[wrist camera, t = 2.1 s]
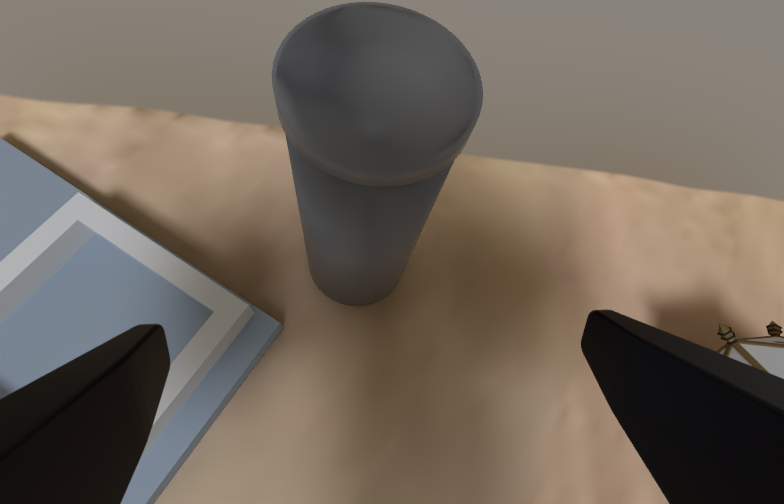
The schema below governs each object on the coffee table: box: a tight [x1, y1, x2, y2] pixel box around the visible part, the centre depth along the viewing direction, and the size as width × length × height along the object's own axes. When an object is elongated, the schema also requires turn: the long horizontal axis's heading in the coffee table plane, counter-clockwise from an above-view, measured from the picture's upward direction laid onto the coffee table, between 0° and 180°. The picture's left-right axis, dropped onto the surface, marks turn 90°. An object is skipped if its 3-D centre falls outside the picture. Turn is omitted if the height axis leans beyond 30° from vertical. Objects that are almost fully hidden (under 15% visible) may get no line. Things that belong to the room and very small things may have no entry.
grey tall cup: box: [272, 2, 483, 306], centre depth 16 cm, size 5×5×13 cm
